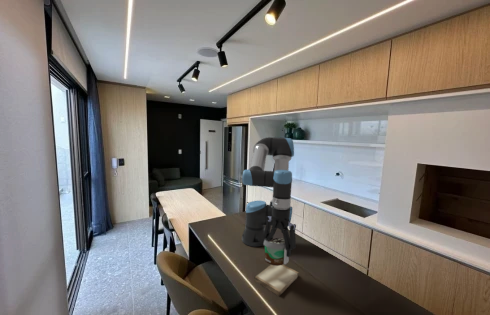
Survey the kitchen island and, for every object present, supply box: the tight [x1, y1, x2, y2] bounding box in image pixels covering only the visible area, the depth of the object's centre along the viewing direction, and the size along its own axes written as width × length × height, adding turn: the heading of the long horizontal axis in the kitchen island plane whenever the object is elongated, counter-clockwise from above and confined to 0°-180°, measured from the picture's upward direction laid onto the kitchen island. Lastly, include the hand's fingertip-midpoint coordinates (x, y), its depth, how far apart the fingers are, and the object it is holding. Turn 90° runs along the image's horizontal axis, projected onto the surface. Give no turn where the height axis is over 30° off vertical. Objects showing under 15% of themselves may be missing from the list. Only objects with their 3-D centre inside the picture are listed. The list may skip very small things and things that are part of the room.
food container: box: [263, 237, 286, 266], centre depth 86 cm, size 12×6×10 cm, turn 118°
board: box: [254, 264, 300, 297], centre depth 87 cm, size 12×16×2 cm
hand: (278, 258), depth 86 cm, fingers closed on food container, 7 cm apart
